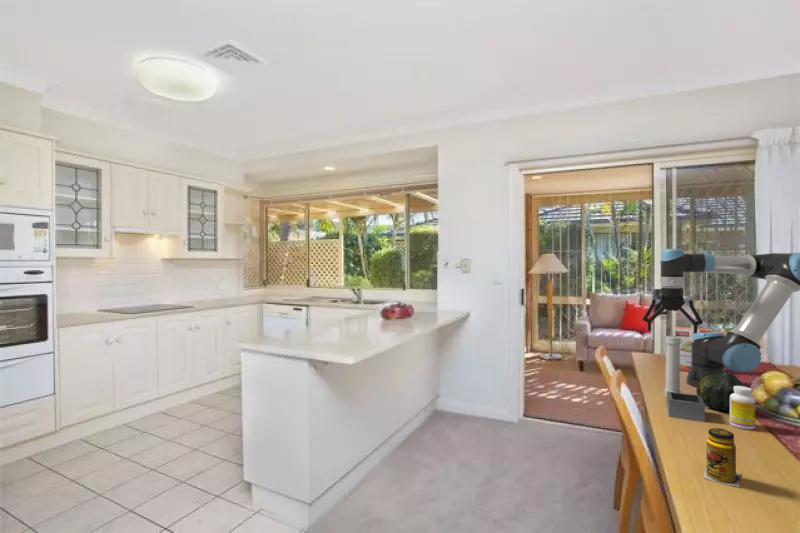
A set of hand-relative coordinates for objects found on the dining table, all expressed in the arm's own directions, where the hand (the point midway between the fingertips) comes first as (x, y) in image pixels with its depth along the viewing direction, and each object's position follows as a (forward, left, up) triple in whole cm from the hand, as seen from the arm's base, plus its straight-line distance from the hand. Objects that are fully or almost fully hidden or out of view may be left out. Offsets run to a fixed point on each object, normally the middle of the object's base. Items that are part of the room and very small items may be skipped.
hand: (671, 340), depth 169 cm
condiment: (-6, +66, -23) cm, 70 cm away
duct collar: (-3, +20, -23) cm, 30 cm away
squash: (-15, +7, -23) cm, 29 cm away
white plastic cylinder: (0, 0, -23) cm, 23 cm away
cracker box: (-12, -48, -23) cm, 55 cm away
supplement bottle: (-18, +24, -23) cm, 38 cm away
